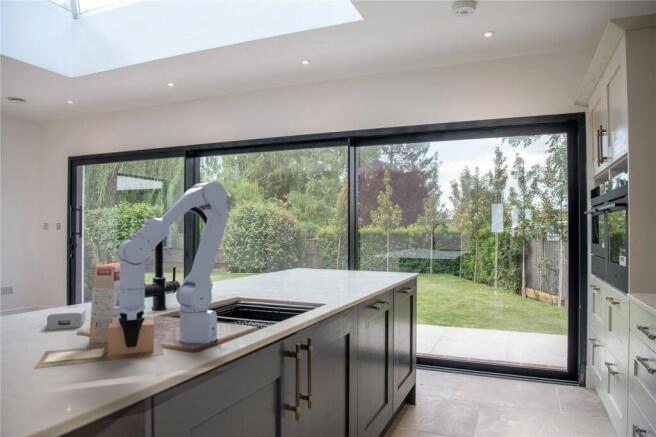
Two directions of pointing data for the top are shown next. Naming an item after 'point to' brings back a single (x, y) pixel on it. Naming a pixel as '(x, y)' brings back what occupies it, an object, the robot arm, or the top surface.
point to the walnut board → (89, 355)
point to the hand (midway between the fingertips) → (131, 343)
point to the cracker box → (104, 301)
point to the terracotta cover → (119, 345)
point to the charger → (66, 318)
